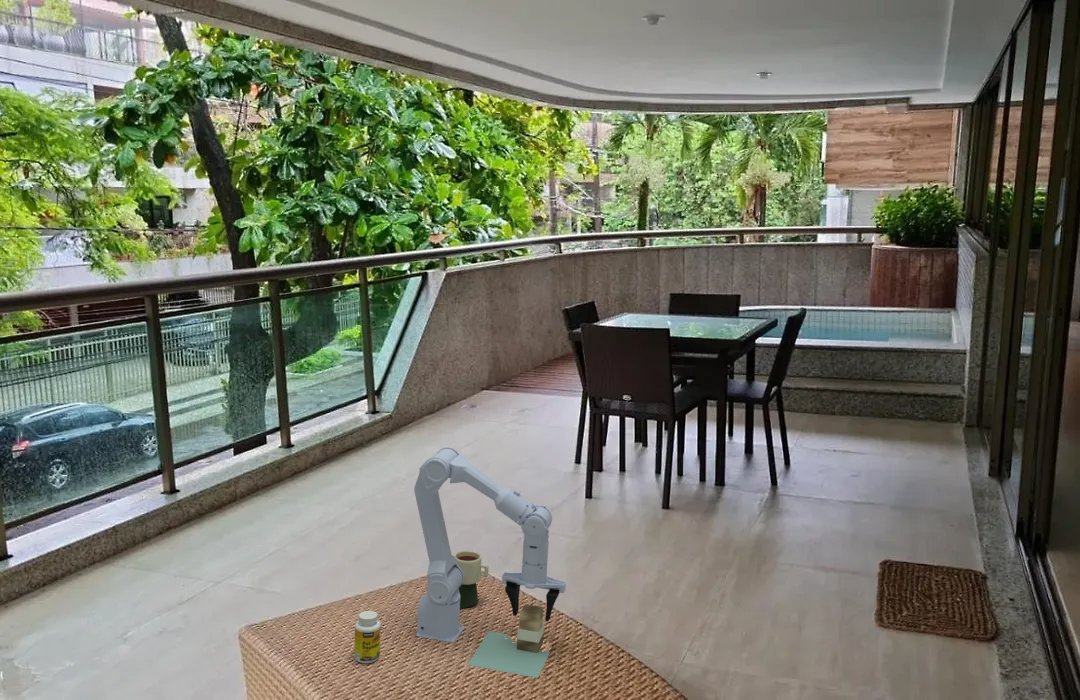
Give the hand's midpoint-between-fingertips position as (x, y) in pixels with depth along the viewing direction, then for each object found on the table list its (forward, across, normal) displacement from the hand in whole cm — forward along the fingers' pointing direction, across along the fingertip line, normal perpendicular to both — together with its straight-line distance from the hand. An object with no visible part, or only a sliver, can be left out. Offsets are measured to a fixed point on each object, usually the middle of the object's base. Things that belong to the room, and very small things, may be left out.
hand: (531, 616), depth 194 cm
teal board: (+8, -3, -4) cm, 9 cm away
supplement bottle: (+8, -33, -16) cm, 38 cm away
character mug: (+8, -21, +16) cm, 27 cm away
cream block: (+5, 0, 0) cm, 5 cm away
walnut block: (+7, 0, 0) cm, 7 cm away
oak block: (+2, 0, 0) cm, 2 cm away
